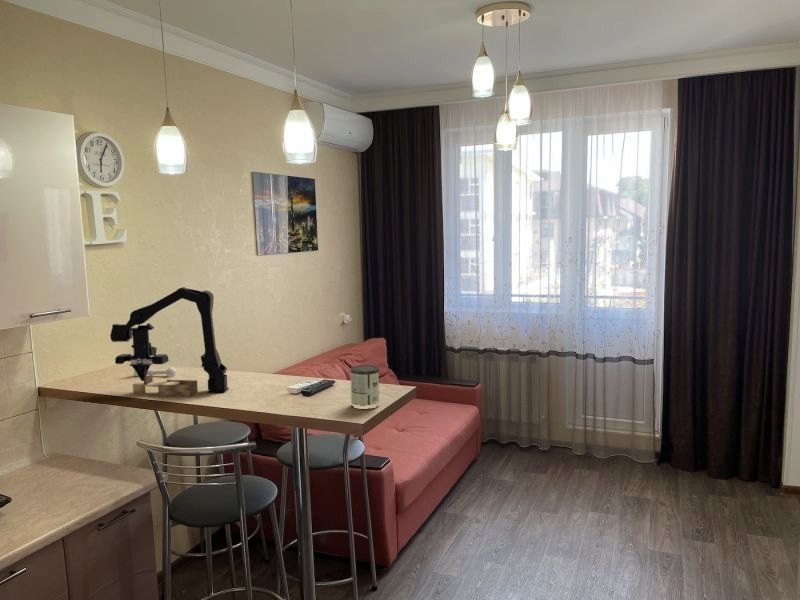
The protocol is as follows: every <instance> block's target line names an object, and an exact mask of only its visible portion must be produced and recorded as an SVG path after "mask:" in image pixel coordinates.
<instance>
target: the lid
mask: <svg viewBox="0 0 800 600" xmlns="http://www.w3.org/2000/svg"><path fill="white" fill-rule="evenodd" d="M143 383H144V385H143V386H145V388H146V387H148V388H149V387H150V388H151V387H155V388H157V387H158V385H159V384H162V385H178V384H179V383H180V382H167V381H157V380H156V381H154V380H153V375H147V376H146V378H144V381H143Z"/></svg>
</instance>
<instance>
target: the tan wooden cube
mask: <svg viewBox="0 0 800 600" xmlns="http://www.w3.org/2000/svg"><path fill="white" fill-rule="evenodd" d="M143 385H144V382H137V383H133V384H132V391H133V393H132V394H133V395H137V394H138V395H143V394H146V392H147V391H146V390H147V389H146V387H145V386H143Z"/></svg>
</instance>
